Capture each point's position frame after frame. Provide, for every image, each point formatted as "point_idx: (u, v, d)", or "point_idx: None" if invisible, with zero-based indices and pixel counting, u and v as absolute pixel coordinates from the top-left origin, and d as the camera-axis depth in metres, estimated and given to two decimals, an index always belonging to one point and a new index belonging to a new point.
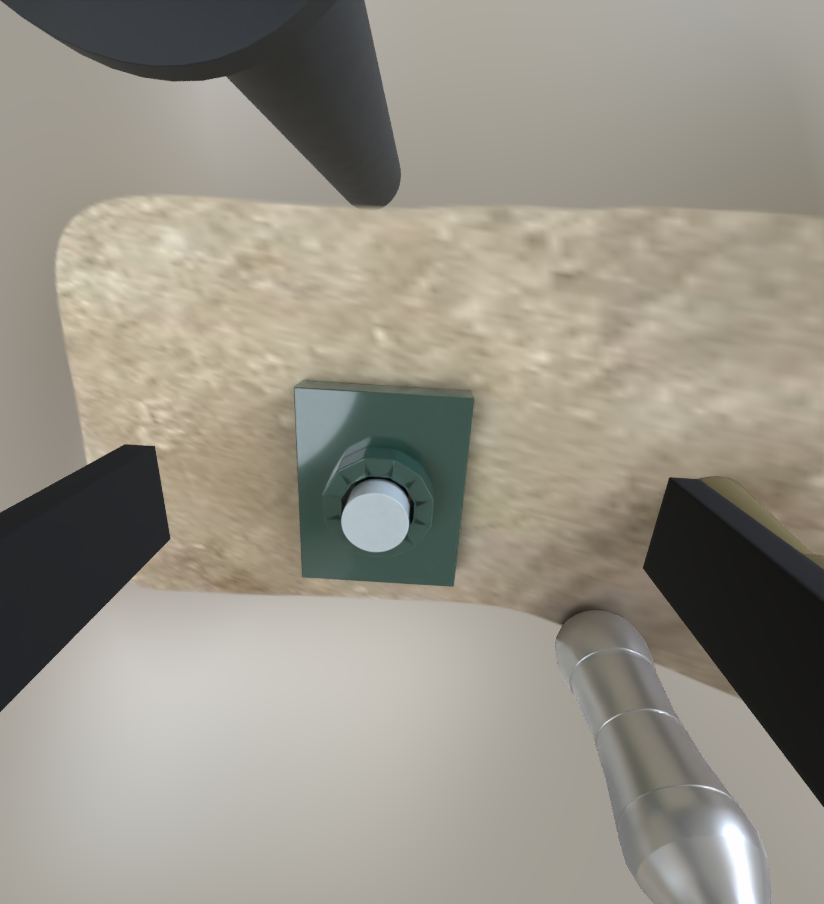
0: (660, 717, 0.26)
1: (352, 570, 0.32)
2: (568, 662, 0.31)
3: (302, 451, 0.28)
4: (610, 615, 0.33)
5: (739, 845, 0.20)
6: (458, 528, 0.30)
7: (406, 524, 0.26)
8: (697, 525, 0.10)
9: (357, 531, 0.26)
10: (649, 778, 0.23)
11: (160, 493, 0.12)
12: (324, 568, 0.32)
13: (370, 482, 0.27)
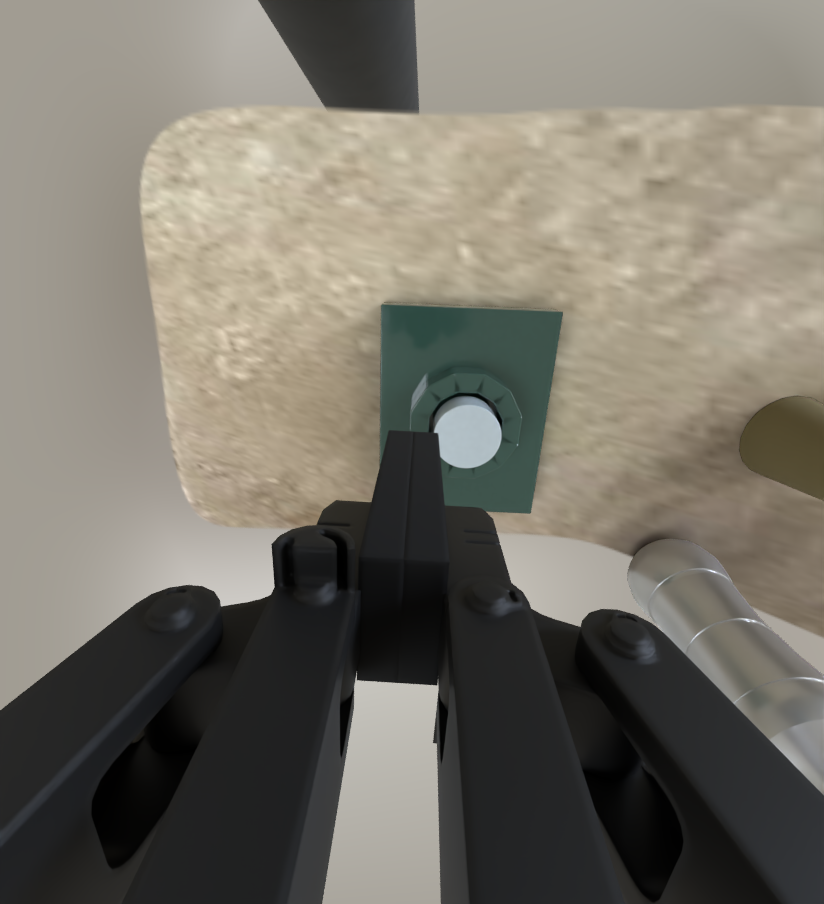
0: (756, 625, 0.26)
1: None
2: (647, 586, 0.32)
3: (386, 373, 0.28)
4: (685, 541, 0.33)
5: None
6: (539, 451, 0.30)
7: (499, 437, 0.26)
8: None
9: (449, 446, 0.26)
10: (757, 674, 0.23)
11: None
12: None
13: (460, 398, 0.27)
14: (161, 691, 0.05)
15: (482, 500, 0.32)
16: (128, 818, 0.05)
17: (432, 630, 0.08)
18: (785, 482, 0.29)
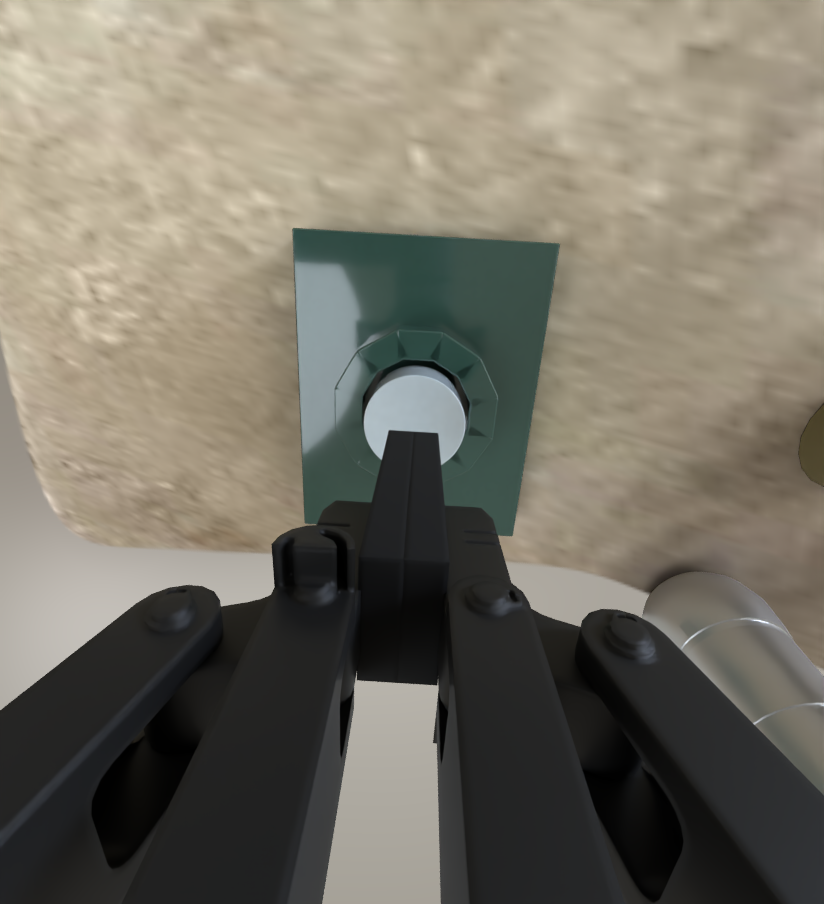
0: None
1: None
2: (671, 638, 0.23)
3: (305, 333, 0.20)
4: (722, 576, 0.24)
5: None
6: (524, 450, 0.21)
7: (462, 426, 0.17)
8: None
9: None
10: None
11: None
12: None
13: (406, 368, 0.18)
14: (161, 691, 0.05)
15: None
16: (128, 818, 0.05)
17: (432, 630, 0.08)
18: None
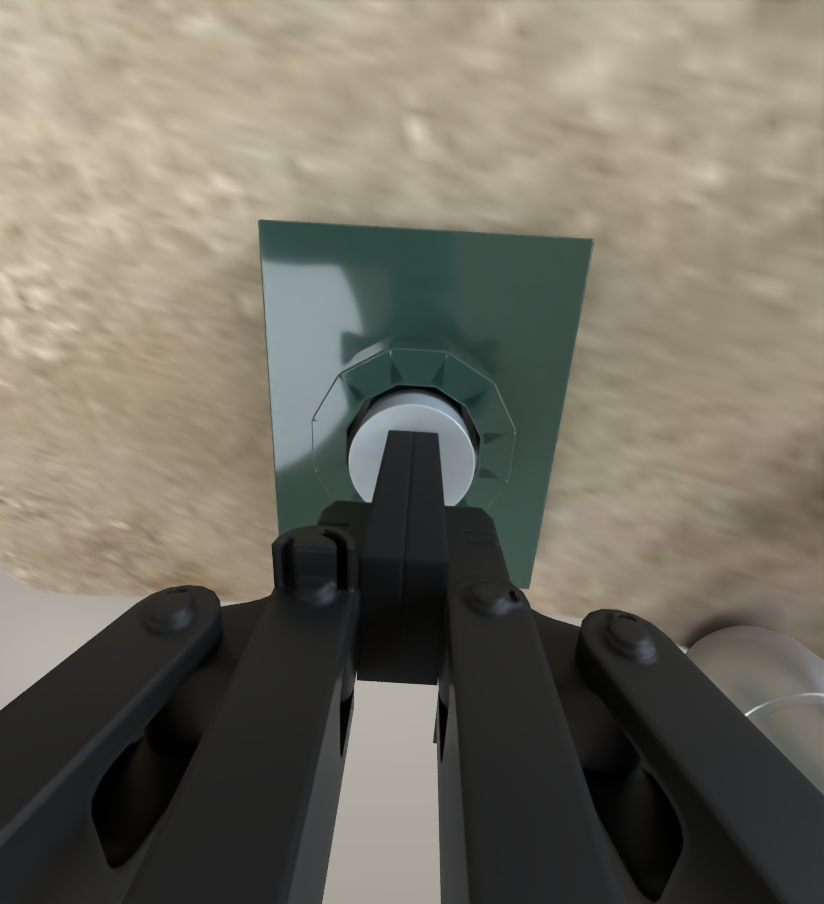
0: None
1: None
2: None
3: (276, 349, 0.16)
4: (776, 635, 0.20)
5: None
6: (545, 490, 0.18)
7: (470, 467, 0.14)
8: None
9: None
10: None
11: None
12: None
13: (401, 393, 0.15)
14: (161, 691, 0.05)
15: None
16: (128, 818, 0.05)
17: (432, 630, 0.08)
18: None
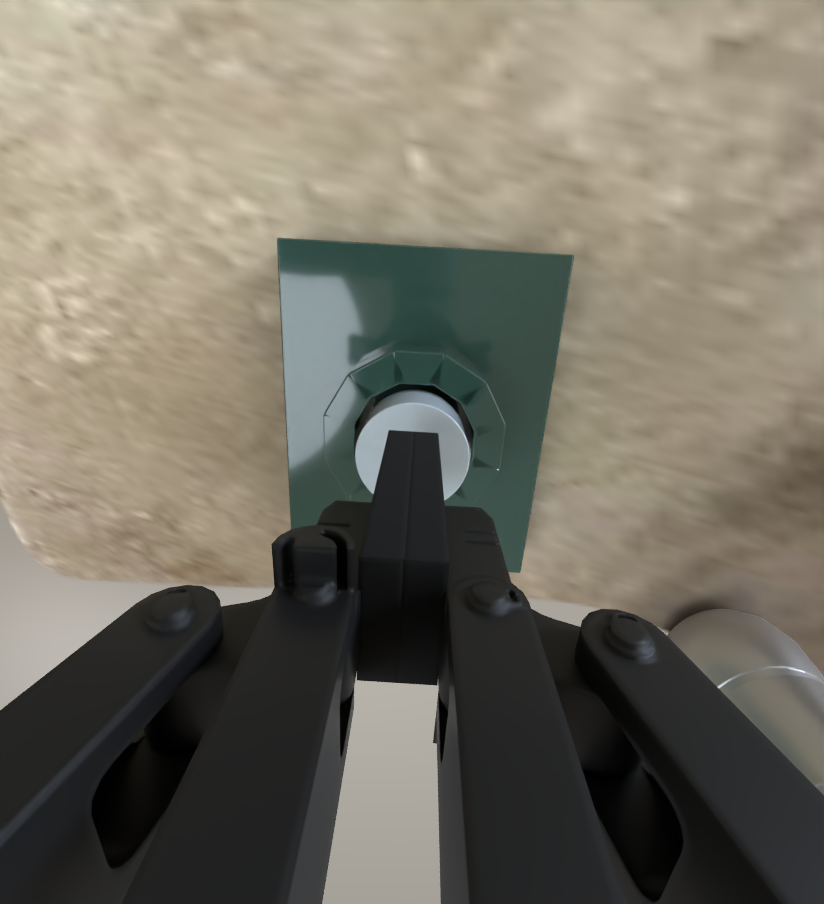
0: None
1: None
2: None
3: (291, 352, 0.18)
4: (749, 616, 0.22)
5: None
6: (533, 481, 0.19)
7: (465, 460, 0.15)
8: None
9: None
10: None
11: None
12: None
13: (403, 393, 0.16)
14: (161, 691, 0.05)
15: None
16: (128, 818, 0.05)
17: (432, 630, 0.08)
18: None
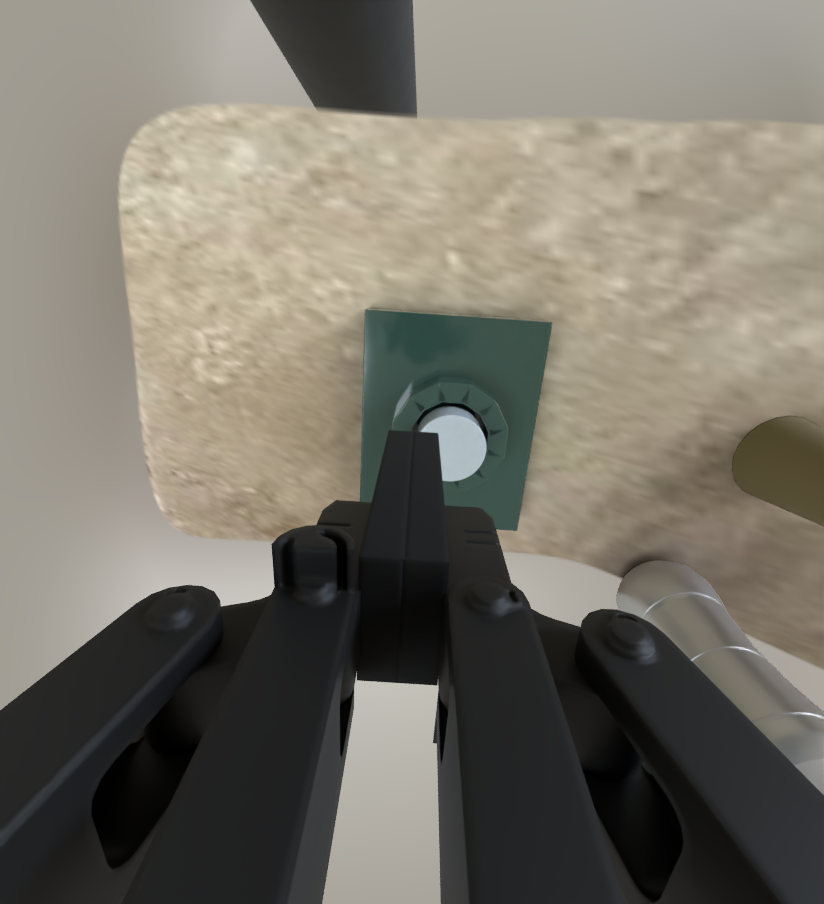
0: (749, 654, 0.25)
1: None
2: (636, 609, 0.30)
3: (369, 380, 0.27)
4: (676, 563, 0.32)
5: None
6: (526, 466, 0.29)
7: (484, 450, 0.25)
8: None
9: None
10: (751, 708, 0.21)
11: None
12: None
13: (444, 408, 0.26)
14: (161, 691, 0.05)
15: None
16: (128, 818, 0.05)
17: (432, 630, 0.08)
18: (779, 504, 0.28)
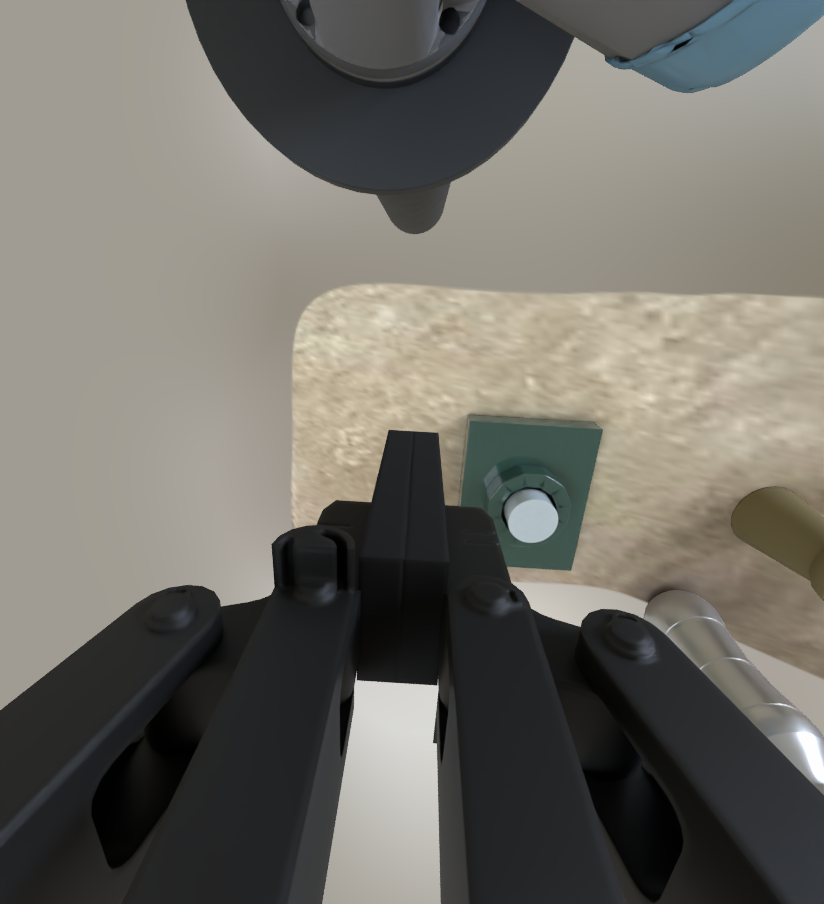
0: (742, 663, 0.35)
1: None
2: (660, 628, 0.41)
3: (469, 467, 0.38)
4: (689, 593, 0.42)
5: (812, 739, 0.29)
6: (580, 525, 0.40)
7: (556, 522, 0.35)
8: None
9: (519, 527, 0.36)
10: (742, 700, 0.32)
11: None
12: None
13: (526, 491, 0.36)
14: (161, 691, 0.05)
15: (534, 560, 0.41)
16: (128, 818, 0.05)
17: (432, 630, 0.08)
18: (765, 553, 0.39)
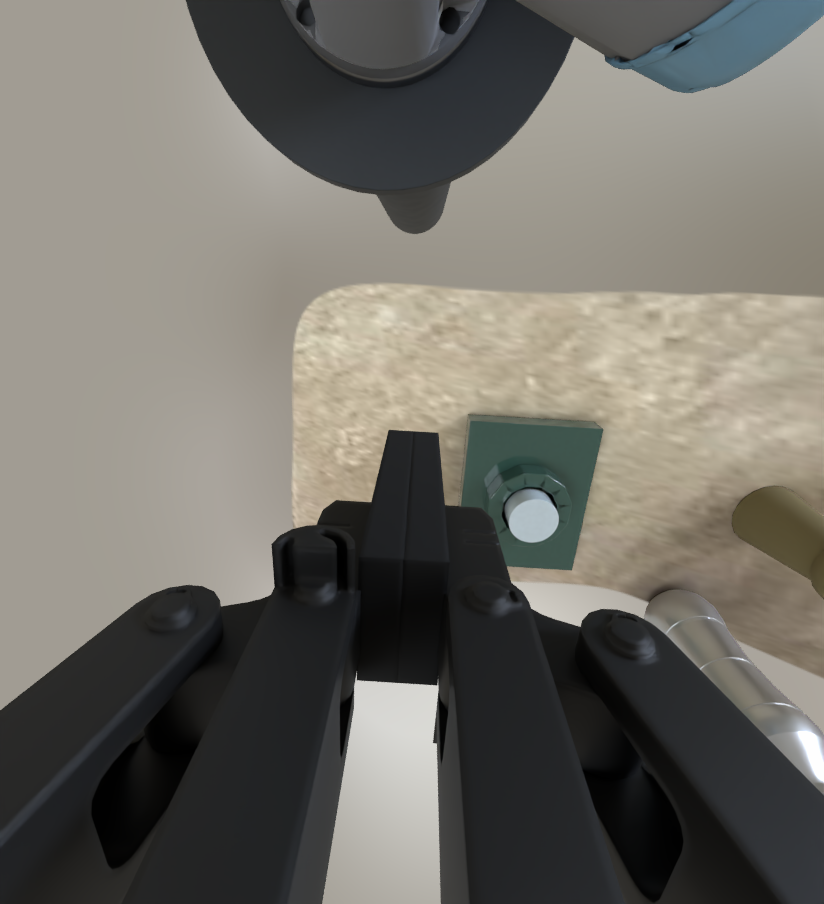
0: (743, 662, 0.35)
1: None
2: (661, 627, 0.41)
3: (469, 467, 0.38)
4: (690, 592, 0.42)
5: (812, 738, 0.29)
6: (580, 525, 0.40)
7: (557, 522, 0.35)
8: None
9: (520, 527, 0.36)
10: (743, 700, 0.32)
11: None
12: None
13: (527, 491, 0.36)
14: (161, 691, 0.05)
15: (535, 560, 0.41)
16: (128, 818, 0.05)
17: (432, 630, 0.08)
18: (766, 552, 0.39)
